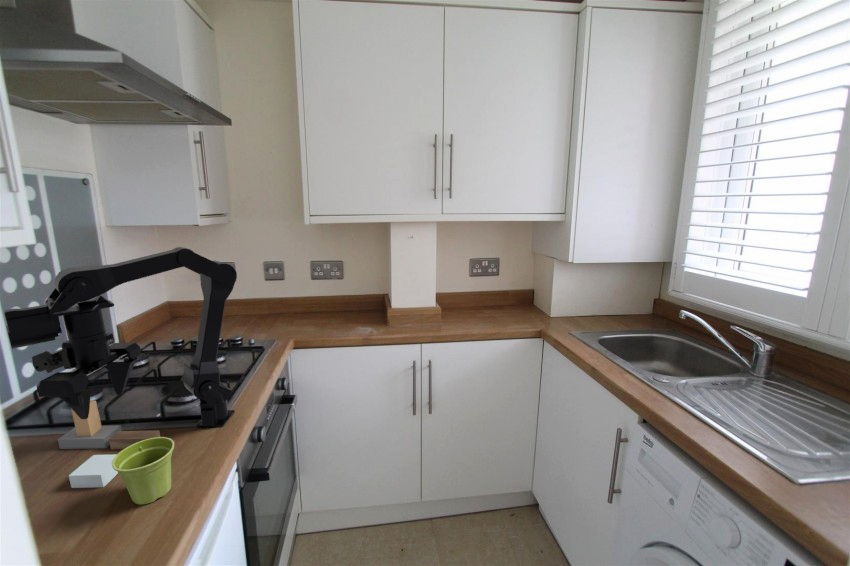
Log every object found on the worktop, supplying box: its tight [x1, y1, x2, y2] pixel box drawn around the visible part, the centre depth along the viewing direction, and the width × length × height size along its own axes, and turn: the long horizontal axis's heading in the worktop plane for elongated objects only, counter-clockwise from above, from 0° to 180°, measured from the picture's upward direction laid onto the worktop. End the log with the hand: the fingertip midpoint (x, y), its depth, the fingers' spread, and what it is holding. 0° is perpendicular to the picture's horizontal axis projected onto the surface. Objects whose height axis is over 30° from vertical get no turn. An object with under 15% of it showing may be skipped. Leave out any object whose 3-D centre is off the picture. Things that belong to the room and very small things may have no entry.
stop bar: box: [109, 430, 161, 450], centre depth 87 cm, size 3×9×2 cm, turn 91°
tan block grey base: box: [57, 400, 123, 450], centre depth 88 cm, size 5×10×10 cm, turn 91°
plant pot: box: [112, 436, 175, 505], centre depth 72 cm, size 9×9×9 cm
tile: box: [68, 453, 119, 489], centre depth 77 cm, size 6×6×3 cm
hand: (103, 405), depth 79 cm, fingers open, 9 cm apart
